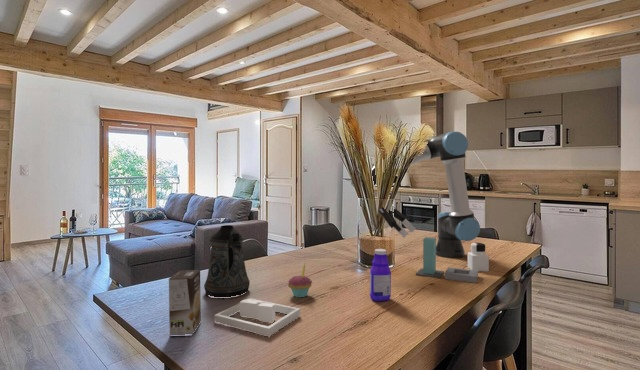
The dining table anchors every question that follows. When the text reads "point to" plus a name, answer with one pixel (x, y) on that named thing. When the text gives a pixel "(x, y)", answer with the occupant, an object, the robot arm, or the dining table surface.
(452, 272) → the socket block
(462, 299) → the dining table surface
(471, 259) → the medicine bottle
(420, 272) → the mat
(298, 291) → the cupcake
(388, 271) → the bottle
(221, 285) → the beer stein
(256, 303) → the napkin holder
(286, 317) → the holder frame
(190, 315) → the coffee box
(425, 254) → the plug
